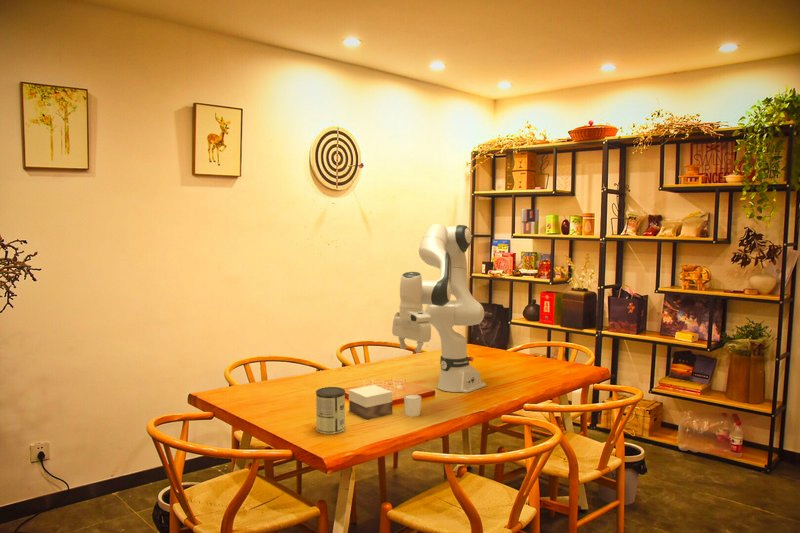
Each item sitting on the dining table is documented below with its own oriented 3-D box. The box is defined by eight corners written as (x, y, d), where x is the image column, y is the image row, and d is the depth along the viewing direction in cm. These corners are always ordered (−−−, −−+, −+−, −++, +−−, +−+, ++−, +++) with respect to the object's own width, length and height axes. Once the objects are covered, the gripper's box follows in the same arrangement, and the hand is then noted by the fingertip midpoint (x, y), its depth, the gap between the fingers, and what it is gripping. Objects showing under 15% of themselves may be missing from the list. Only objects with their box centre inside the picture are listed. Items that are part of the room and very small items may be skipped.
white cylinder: (411, 410, 243) (411, 392, 242) (425, 414, 238) (425, 396, 238) (400, 414, 238) (400, 396, 237) (414, 418, 233) (414, 400, 233)
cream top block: (374, 394, 248) (374, 384, 247) (391, 402, 238) (392, 391, 238) (348, 399, 240) (348, 389, 240) (366, 407, 231) (366, 397, 231)
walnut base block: (374, 406, 248) (374, 394, 248) (392, 414, 239) (392, 402, 238) (349, 412, 241) (349, 399, 241) (366, 420, 231) (366, 407, 231)
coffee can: (318, 424, 226) (318, 386, 225) (346, 424, 226) (346, 386, 225) (313, 434, 216) (313, 394, 215) (343, 434, 216) (342, 395, 214)
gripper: (388, 312, 243) (388, 347, 244) (420, 318, 227) (420, 355, 227) (401, 311, 247) (401, 345, 248) (434, 317, 230) (433, 353, 231)
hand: (410, 350), depth 237 cm, fingers open, 8 cm apart
